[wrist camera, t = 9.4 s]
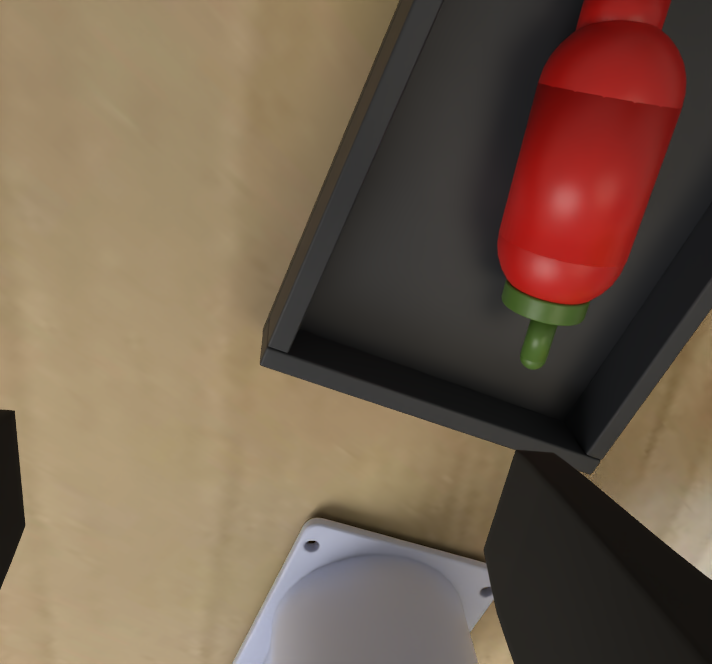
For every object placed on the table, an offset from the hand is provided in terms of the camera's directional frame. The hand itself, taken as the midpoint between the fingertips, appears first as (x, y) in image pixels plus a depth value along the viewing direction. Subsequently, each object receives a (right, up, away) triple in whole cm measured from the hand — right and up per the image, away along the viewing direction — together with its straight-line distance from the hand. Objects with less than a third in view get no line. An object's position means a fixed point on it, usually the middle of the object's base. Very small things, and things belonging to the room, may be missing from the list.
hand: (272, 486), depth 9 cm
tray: (+6, +7, +8) cm, 12 cm away
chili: (+6, +7, +7) cm, 12 cm away
